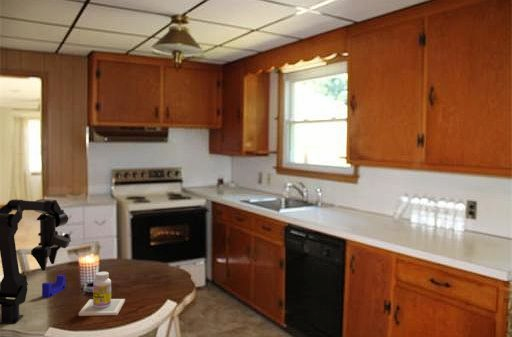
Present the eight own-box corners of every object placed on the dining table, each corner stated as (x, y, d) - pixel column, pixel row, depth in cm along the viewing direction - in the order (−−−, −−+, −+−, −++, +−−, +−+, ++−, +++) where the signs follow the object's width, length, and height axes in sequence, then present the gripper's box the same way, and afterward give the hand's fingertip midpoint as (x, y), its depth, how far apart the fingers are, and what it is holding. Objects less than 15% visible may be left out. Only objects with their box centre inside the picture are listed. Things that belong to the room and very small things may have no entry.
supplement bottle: (89, 307, 166) (89, 274, 165) (100, 301, 172) (100, 270, 171) (104, 309, 164) (103, 276, 163) (114, 303, 170) (114, 271, 169)
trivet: (116, 315, 162) (116, 312, 162) (78, 315, 161) (78, 312, 161) (124, 301, 176) (124, 298, 176) (89, 301, 175) (89, 299, 174)
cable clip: (55, 287, 191) (55, 274, 190) (65, 288, 190) (65, 275, 190) (38, 297, 179) (38, 283, 178) (48, 298, 178) (48, 284, 178)
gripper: (59, 234, 168) (60, 273, 169) (75, 225, 186) (75, 260, 187) (30, 234, 167) (30, 274, 168) (48, 225, 185) (49, 260, 186)
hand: (48, 267), depth 177 cm, fingers open, 9 cm apart
